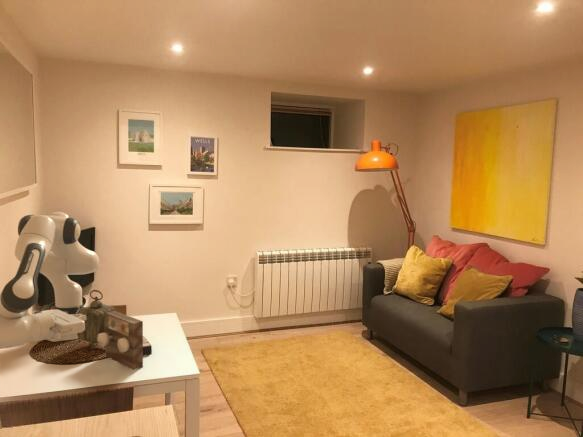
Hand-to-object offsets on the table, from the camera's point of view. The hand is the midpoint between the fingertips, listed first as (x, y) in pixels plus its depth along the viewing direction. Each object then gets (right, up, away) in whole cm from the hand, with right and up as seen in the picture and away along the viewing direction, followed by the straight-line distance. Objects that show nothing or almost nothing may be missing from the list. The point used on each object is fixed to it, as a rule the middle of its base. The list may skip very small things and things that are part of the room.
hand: (84, 316), depth 170 cm
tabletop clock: (-9, -20, +33) cm, 40 cm away
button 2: (+11, -16, +15) cm, 24 cm away
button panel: (+7, -22, +20) cm, 30 cm away
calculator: (+7, -21, +32) cm, 39 cm away
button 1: (+1, -15, +20) cm, 25 cm away
